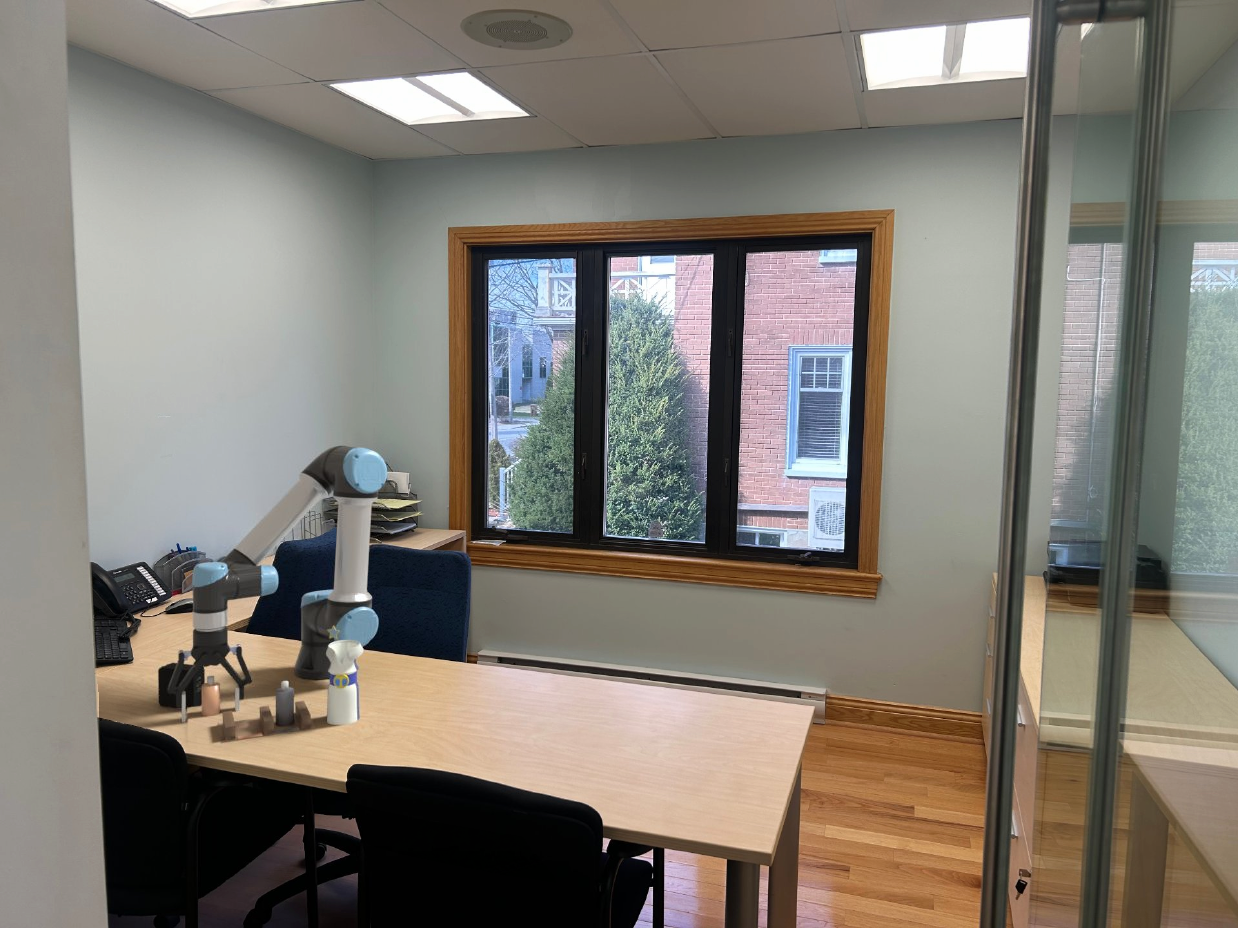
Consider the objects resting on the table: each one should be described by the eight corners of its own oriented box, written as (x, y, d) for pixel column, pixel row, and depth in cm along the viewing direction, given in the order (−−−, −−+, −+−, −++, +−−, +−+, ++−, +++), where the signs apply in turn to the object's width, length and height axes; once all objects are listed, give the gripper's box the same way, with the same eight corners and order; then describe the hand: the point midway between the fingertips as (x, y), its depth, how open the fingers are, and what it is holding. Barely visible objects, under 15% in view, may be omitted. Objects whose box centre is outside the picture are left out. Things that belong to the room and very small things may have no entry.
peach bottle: (219, 712, 204) (219, 672, 204) (220, 718, 201) (220, 678, 200) (201, 715, 202) (201, 675, 202) (202, 720, 199) (201, 680, 198)
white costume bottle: (360, 728, 197) (360, 625, 195) (322, 730, 196) (322, 626, 194) (364, 715, 205) (365, 616, 203) (328, 716, 204) (329, 616, 202)
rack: (307, 714, 205) (307, 698, 204) (315, 732, 194) (315, 715, 194) (217, 727, 195) (217, 711, 195) (221, 747, 185) (221, 729, 184)
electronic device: (193, 710, 205) (193, 671, 204) (158, 706, 207) (157, 667, 206) (205, 704, 209) (204, 665, 209) (170, 700, 211) (170, 662, 210)
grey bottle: (292, 718, 199) (292, 678, 199) (295, 724, 196) (295, 683, 195) (274, 721, 197) (274, 680, 197) (276, 727, 194) (276, 685, 193)
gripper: (261, 618, 209) (261, 703, 210) (154, 628, 197) (155, 718, 199) (264, 626, 202) (264, 713, 204) (154, 636, 191) (155, 729, 193)
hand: (210, 716), depth 202 cm, fingers open, 11 cm apart
